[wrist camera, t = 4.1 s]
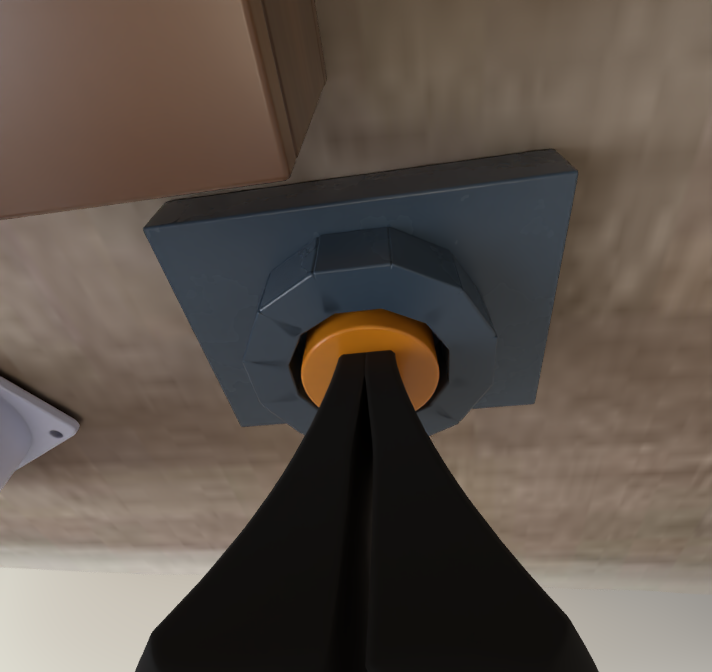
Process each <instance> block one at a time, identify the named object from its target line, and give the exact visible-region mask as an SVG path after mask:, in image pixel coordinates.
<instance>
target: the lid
mask: <svg viewBox="0 0 712 672" xmlns="http://www.w3.org/2000/svg"><path fill="white" fill-rule="evenodd" d="M295 161H296V156H295V151H294V147H293V142H292V138H291V133H290V129H289V124H288V120H287V115H286V111H285V107H284V102H283V98H282V93H281V89H280V84H279V80H278V75H277V71H276V66H275V62H274V57H273V53H272V49H271V44H270V40H269V35H268V31H267V26H266V22H265V17H264V13H263V8H262V4H261V0H0V220H4V219H12V218H19V217H26V216H33V215H41V214H48V213H55V212H62V211H70V210H77V209H84V208H91V207H98V206H106V205H113V204H120V203H127V202H135V201H142V200H149V199H156V198H164V197H171V196H178V195H185V194H192V193H200V192H207V191H214V190H221V189H229V188H236V187H243V186H250V185H258V184H265V183H272V182H279V181H286V180H287V179H289V178H290V176H291V173H292V170H293V168H294V165H295Z"/></svg>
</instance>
